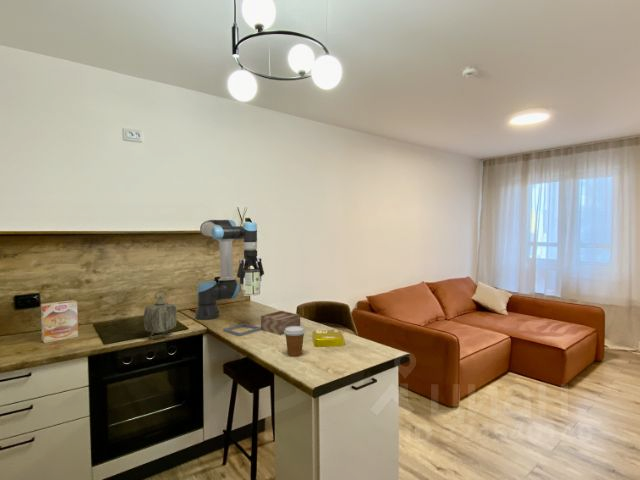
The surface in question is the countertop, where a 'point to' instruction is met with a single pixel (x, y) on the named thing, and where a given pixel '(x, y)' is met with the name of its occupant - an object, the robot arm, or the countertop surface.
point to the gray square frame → (229, 330)
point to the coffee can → (252, 282)
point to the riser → (279, 321)
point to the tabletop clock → (160, 317)
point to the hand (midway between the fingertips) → (251, 288)
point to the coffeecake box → (59, 321)
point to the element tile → (327, 338)
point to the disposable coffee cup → (294, 340)
